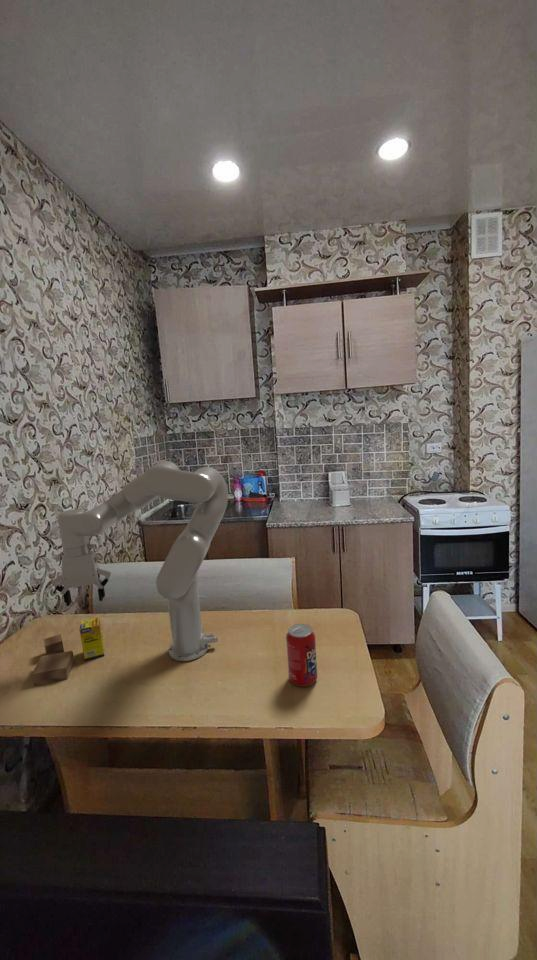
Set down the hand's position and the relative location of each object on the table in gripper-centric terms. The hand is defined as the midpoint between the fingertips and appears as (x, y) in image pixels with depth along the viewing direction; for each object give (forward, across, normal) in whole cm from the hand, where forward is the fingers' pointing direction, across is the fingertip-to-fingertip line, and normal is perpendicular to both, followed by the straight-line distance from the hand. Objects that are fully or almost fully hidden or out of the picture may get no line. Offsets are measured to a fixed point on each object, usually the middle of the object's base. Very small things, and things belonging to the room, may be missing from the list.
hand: (85, 601), depth 131 cm
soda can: (+19, -61, +31) cm, 71 cm away
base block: (+19, +10, +7) cm, 22 cm away
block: (+18, +13, -4) cm, 23 cm away
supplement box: (+18, 0, 0) cm, 19 cm away
